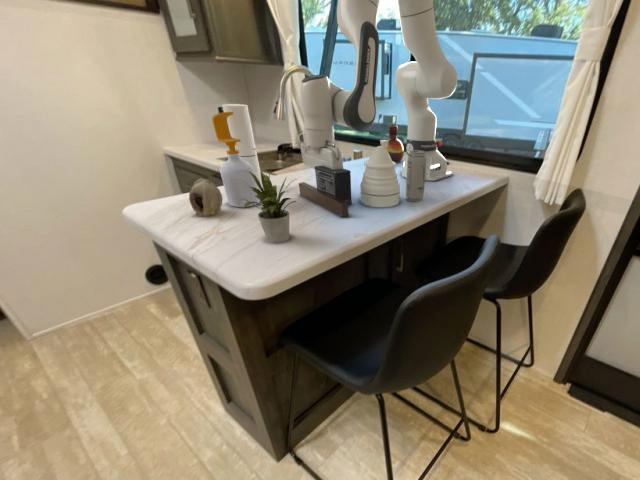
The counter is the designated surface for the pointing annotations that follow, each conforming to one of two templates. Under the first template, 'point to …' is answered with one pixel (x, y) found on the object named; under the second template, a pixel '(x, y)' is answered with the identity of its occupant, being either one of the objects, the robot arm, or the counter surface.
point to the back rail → (324, 199)
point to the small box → (334, 182)
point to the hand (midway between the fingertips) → (324, 184)
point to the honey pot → (380, 179)
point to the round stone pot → (205, 198)
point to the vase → (394, 145)
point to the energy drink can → (416, 175)
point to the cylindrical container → (243, 135)
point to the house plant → (271, 209)
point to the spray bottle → (234, 167)
